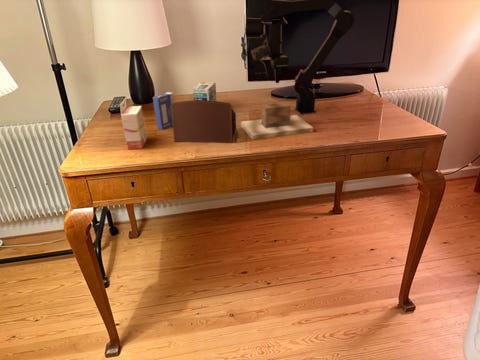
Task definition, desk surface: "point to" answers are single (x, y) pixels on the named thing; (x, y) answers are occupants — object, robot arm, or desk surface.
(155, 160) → the desk surface
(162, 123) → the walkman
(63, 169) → the desk surface
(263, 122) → the block
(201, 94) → the light bulb box
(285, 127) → the birch board
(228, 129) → the letter holder
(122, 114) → the ink cartridge box
